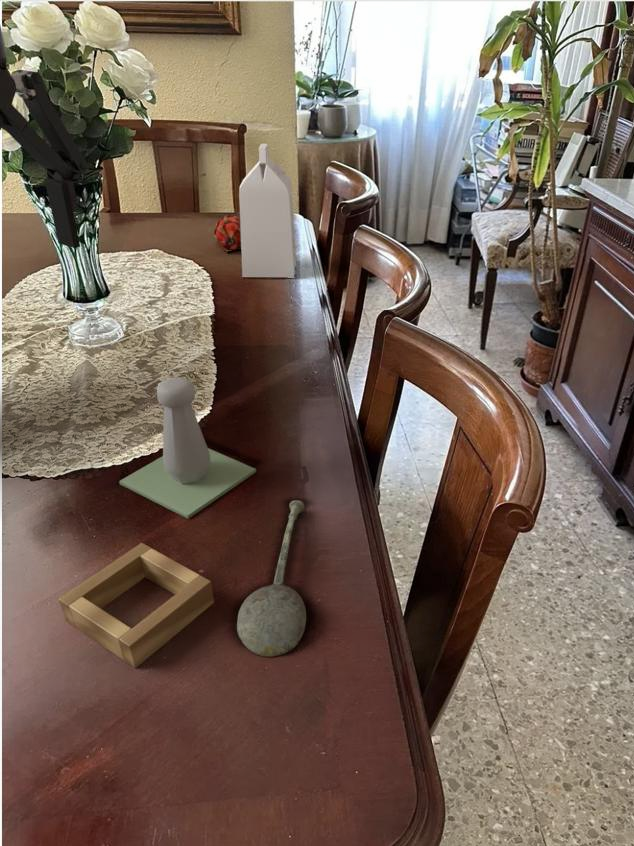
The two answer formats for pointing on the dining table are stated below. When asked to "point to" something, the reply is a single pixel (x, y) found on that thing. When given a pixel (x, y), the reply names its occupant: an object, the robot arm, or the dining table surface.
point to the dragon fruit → (228, 233)
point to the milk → (267, 220)
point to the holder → (156, 628)
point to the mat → (188, 496)
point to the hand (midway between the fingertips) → (13, 260)
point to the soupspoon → (274, 608)
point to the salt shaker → (182, 432)
